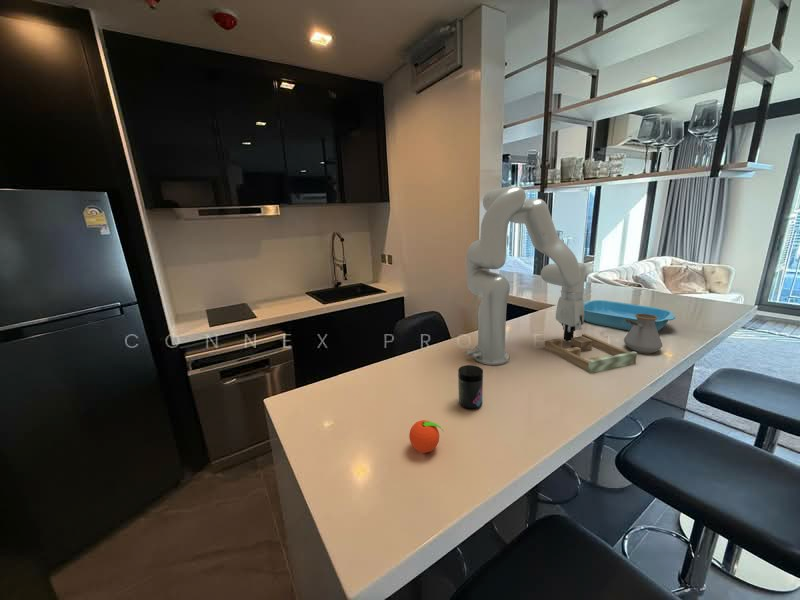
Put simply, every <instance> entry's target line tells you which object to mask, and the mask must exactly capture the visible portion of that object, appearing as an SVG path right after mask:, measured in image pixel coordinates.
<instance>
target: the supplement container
mask: <svg viewBox="0 0 800 600" xmlns="http://www.w3.org/2000/svg"><path fill="white" fill-rule="evenodd" d="M457 373H458V374H457V377H458V381H457V383H458V384H457V385H458V387H457V388H458V391H457V393H458V404H459V405H460V406H461V408H463V409H465V410H469V411H470V410H471V411H473V410H478V409H480V408H481V407H482V406H483V402H484V401H483V395H484V394H483V392H484V391H483V390H484V389H483V386H484V382H483V381H484V370H483V369H482V368H481V367H480V366H477V365H473V364H468V365H462V366H460V367H459V368H458V369H457Z"/></svg>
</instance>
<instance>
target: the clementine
mask: <svg viewBox="0 0 800 600" xmlns="http://www.w3.org/2000/svg"><path fill="white" fill-rule="evenodd" d="M438 428H440V429H441V431H442V432H444V430H443V428H442V427H441V426H440V425H439V424H437V423H435V422H433V421H430V420H426V419H425V420H424V419H423V420H418V421H416V422H415V423H414V424H413V425H412V426H411V427H410V430H409V435H408V437H409V438H408V439H409V441H410V445H412V447H413V448H414V449H415V450H416V451H417V452H419V453H431V452H432V451H433V450H435V449H436V448H437V446H438V444H439V441H440V433H439V429H438Z"/></svg>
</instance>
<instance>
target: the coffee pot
mask: <svg viewBox="0 0 800 600" xmlns="http://www.w3.org/2000/svg"><path fill="white" fill-rule="evenodd" d="M635 316H636V317H637V322H635V321H631V320H630V319H626V321H627V322H628V323H629V324H630V323H631V324H633V325H634V326H633V327H632V328H631V330H630V331H628V332H627V334H626V335H625V337H624V339H623V342H624V344H625V345H626V346H627V347H628V348H629V350H631V351H632V352H633V351H634V352H637V353H640V354H654V353H655V352H658V351H660V350H661V349H662V347H663V342H662V339H661V337H660V334H659V331H657V328H656V326H655V321H656V320H657V319H658V317H656V316H654V315H650V314H635ZM623 321H624V320H623ZM623 321H622V323H623ZM629 324H628V325H629Z"/></svg>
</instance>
